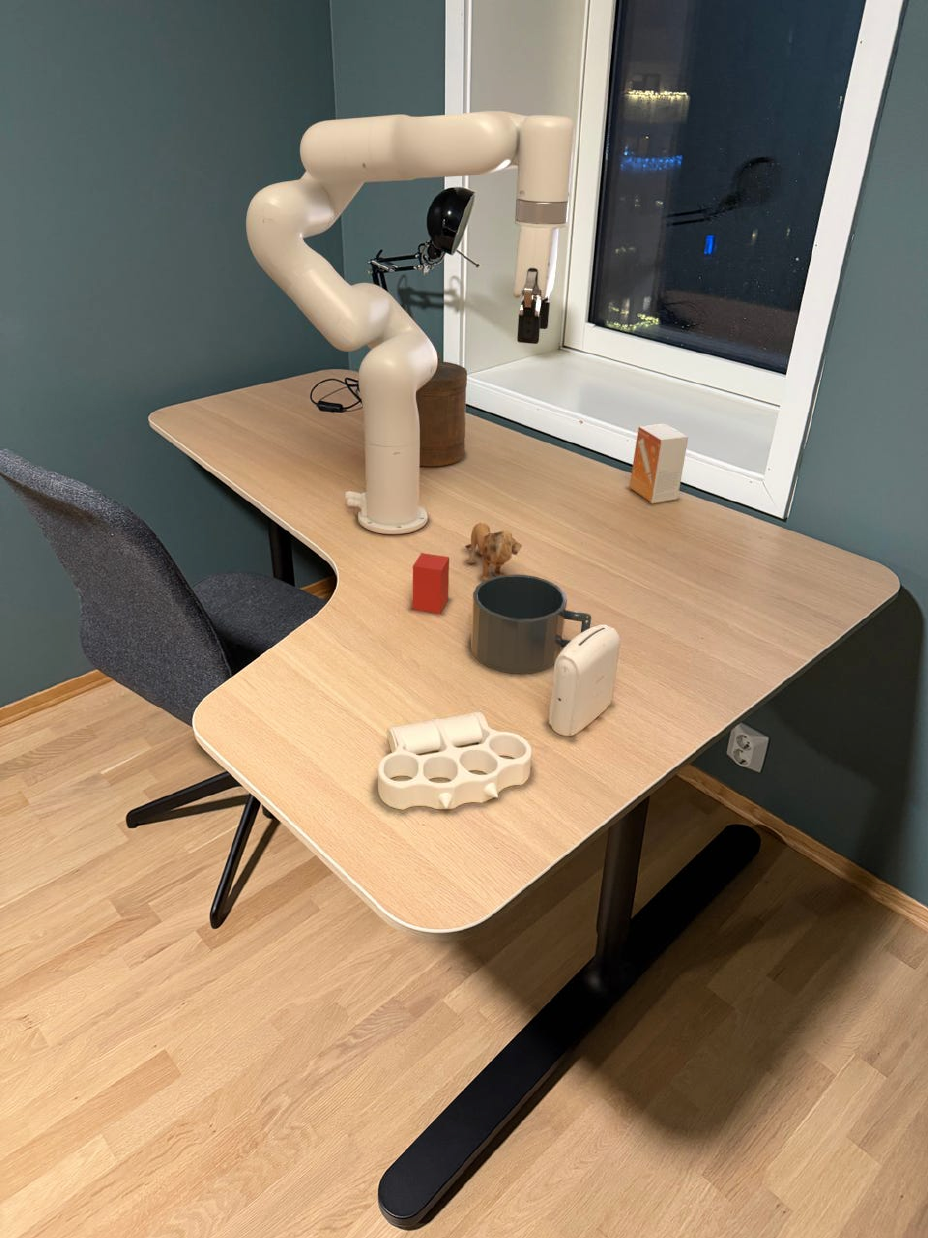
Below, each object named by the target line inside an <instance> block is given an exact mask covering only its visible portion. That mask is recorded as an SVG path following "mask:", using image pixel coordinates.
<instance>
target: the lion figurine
mask: <svg viewBox="0 0 928 1238" xmlns="http://www.w3.org/2000/svg"><path fill="white" fill-rule="evenodd" d="M464 547H465V548H466V549H467V550H469V549H470V550H469V558H468V561H467V563H468V564H470V565H473V564H475V563H476V560H475V554H476V548H477V549H478V554H479V555H481V556H482V576H481V580H482V581H485V580H487V579H490V578H491V576H490V575H491V574H490V565H492V566H494V571H493V573H494V575H495V576H502V575H504V572H502V571H501V567H502V566H503V565H505V563H508V561H510V560H511V559H512V556H513V555H514V556H517V555H518V554H519V552H520V551H521V549H522V547H523V545H522V543H519V542H518V541H516V539H515V538H514V537H513V533H512V532H510V531H509V530H500V531H497V532H491V529H490V526H489V525H488V524H486V523H483V522H478V523H477V524H475V525H474V526H473V528H472V530H471V535H470V543H469V544H467V545H464Z"/></svg>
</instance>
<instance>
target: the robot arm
mask: <svg viewBox="0 0 928 1238" xmlns="http://www.w3.org/2000/svg"><path fill="white" fill-rule="evenodd" d="M575 134H576V126H575V123H574V121H573V120H572V119H571V118H570V117H568V116H563V115H554V114H552V115H551V114H532V115H524V114H518V113H514V112H510V111H505V110H484V111H475V112H474V111H473V112H465V113H452V114H441V115H428V116H427V115H426V116H411V115H407V114H389V115H388V114H387V115H378V116H367V117H366V116H365V117H364V116H363V117H353V118H341V119H340V118H339V119H329V120H321V121H318V122H316V123H315V124H312V125H311V126H309V128H307V130H306V131H305V132H304V134H302V138H301V140H300V145H299V154H300V155H299V156H300V161H301V163H302V166H303V167H304V169H305V172H304V173H303V175H302V176H301V177H300V178H299V179H294V180H287V181H281V182H276V183H272V184H270V185H268V186H265V187H263V188H261V189H260V190H259V191H258V192H257V193H256V194H255V195H254V196H253V197H252V199H251V201H250V203H249V205H248V208H247V212H246V216H245V217H246V218H245V229H246V237H247V242H248V245H249V249H250V250H251V253H252V255H253V257H254V259H255V261H256V262H257V263H258V265H259V266H260V267H261V269H262V270H263V271H264V272H265V274H267V276H268V277H269V278H270V279H271V280H272V281H273V282H274V283H275V284H276V285H277V286H278V287H279V288H280V289H281V290H282V291H283V292H284V293H285V294H286V295H287V296H288V298H289V299H290V300H292V303H294V304H295V306H296V307H297V308H298V309H299V311H301V313H302V314H303V315H304V317H306V318H307V319H308V320H309V321H310V323H311V324H312V325H313V326H314V327H315V328H316V329H317V330H318V331H319V332H320V333H321V335H322V336H323V337H324V338H325V339H326V341H328V343H329V344H330V345H331V346H333V347H334V348H335V349H337V350H339V351H341V352H345V353H347V352H348V353H349V352H350V353H351V352H355V351H358V350H360V349H362V348H363V347H365V346H367V347H368V348H369V349H370V351H369V352H368V353H367V354H366V355H365V356H364V357H363V359H362V361H361V363H360V366H359V370H358V373H357V375H358V378H357V380H358V390H359V395H360V400H361V405H362V414H363V415H362V416H363V432H364V433H363V434H364V435H363V437H364V461H365V463H364V465H365V469H364V470H365V491H363V492H357V491H352V490H347V491H346V492H345V496H344V499H345V500H344V501H345V502H346V505H347V507H352V508H358V509H359V511H358V513H357V521H358V523H359V525H360V526H361V527H363V528H364V529H366V530H368V531H371V532H374V533H377V534H383V535H401V534H402V535H403V534H408V533H412V532H416V531H418V530H421V528H423V527H425V525H426V524H427V523H428V520H429V519H428V512H427V510H426V509H425V508H424V507H422V506H421V505H420V466H419V462H420V425H419V414H418V409H417V404H416V391H417V390H418V389H419V388H421V387H422V386H423V385H425V384H426V383H427V382H428V381H429V380H430V379H431V378H432V377H433V375H434V373H435V371H436V368H437V354H436V352H437V350H436V348H435V346H434V344H433V342H432V341H431V339H430V338H429V337H428V335H427V334H426V333H425V332H424V331H423V329H422V328H420V326H419V325H418V324H417V323H416V322H415V321H414V319H413V318H412V317H411V316H410V315H409V313H407V311H406V310H405V309H404V308H403V307H402V306H401V305H400V303H399V302H398V301H397V300H396V298H394V296H393V295H391V294H390V293H389V292H388V291H387V290H386V289H384V288H383V287H381V286H379V285H377V284H375V283H371V282H358V283H355V284H353V285H351V284H350V283H348V282H347V281H346V279H344V278H343V277H342V276H341V274H340V273H338V271H336V269H335V268H334V267H333V266H332V265H331V263H330V262H329V261H328V260H327V259H326V258H325V257H323V256H322V255H321V254H320V253H318V252H317V251H315V250H314V249H312V247H310V246H309V245H308V244H307V243H306V241H305V240H304V239H306V238H310V237H313V236H317V235H320V234H322V233H324V232H326V231H328V229H330V228H331V227H332V226H333V225H334V223H335V222H336V221H337V220H338V219H339V218H340V216H341V215H342V214H343V212H344V211H345V210H346V208H347V207H348V206H349V204H350V202H352V200H353V199H354V197H355V196H356V195H357V193H359V191H360V189H361V188H362V186H363V185H364V183H376V182H399V181H413V180H416V179H426V178H427V179H428V178H429V179H430V178H448V177H449V178H450V177H467V176H468V177H469V176H482V175H489V174H492V173H496V172H500V171H501V172H502V171H506V170H507V171H508V170H515V169H517V180H516V181H517V182H516V200H515V201H516V202H515V215H514V216H515V218H514V223H515V225H516V226H519V227H520V229H519V230H520V231H519V236H518V242H517V243H518V244H517V252H516V262H515V272H514V274H515V275H514V282H513V283H514V284H513V297H514V298H515V299H519V298H520V297H521V300H520V301H521V302H520V306H519V314H518V322H517V338H516V341H517V343H521V344H532V345H533V344H534V345H537V344H539V342H540V331H541V330H547V329H548V328H549V318H550V307H551V302H550V298H551V297H550V295H551V292H552V291H553V289H554V288H553V287H554V283H555V275H556V266H557V257H558V256H557V255H558V245H559V231H560V229H562V228H566V227H567V226H568V219H569V218H568V217H569V204H570V193H571V182H572V171H573V161H574V160H573V159H574V147H575V138H576V137H575V136H576V135H575ZM435 350H436V351H435Z"/></svg>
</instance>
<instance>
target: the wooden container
mask: <svg viewBox="0 0 928 1238" xmlns="http://www.w3.org/2000/svg"><path fill="white" fill-rule="evenodd" d="M435 351H436V354H437V368H436V371H435V373H434V375H433V377H432V378H431V379H430V380H429V381H428V382H427V383H426V384H425V385H423V386H422V387H421V388H419V389H418V390H417V391H416V404H417V409H418V414H419V425H420V462H419V467H444V466H448V465H452V464H455V463H458V462H459V461H461V460H462V459H463V458H464V456H465V438H466V407H467V406H466V399H467V398H466V397H467V385H468V381H467V380H468V370H467V368H465V367H464V366H462V365H460V364H457V363H455V362H449V361H442V360H441V357H442V356H441V354H440V353H439V352H438V351H437V350H436V349H435Z"/></svg>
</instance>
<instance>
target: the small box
mask: <svg viewBox="0 0 928 1238" xmlns="http://www.w3.org/2000/svg"><path fill="white" fill-rule="evenodd" d="M637 428H638V429H637V437H636V441H635V449H634V456H633V462H632V469H631V475H630V482H629V489H631V490H633V491H634V492H636V493H637V494H638V495H640V496H641V497H642V498H644V499H645V500H646V501H648V502H649V503H650V504H656V503H662V502H669V501H670V502H671V501H676V500H678V498H679V493H680V488H681V481H682V475H683V470H684V463H685V459H686V453H687V448H688V447H687V446H688V443H689V436H688V435H686V434H684V433H682V432H681V431H680V430H678V429H676V428H674V427H672V426H670V425H668V424H667V423H653V424H648V425H639V426H638V427H637Z"/></svg>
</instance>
